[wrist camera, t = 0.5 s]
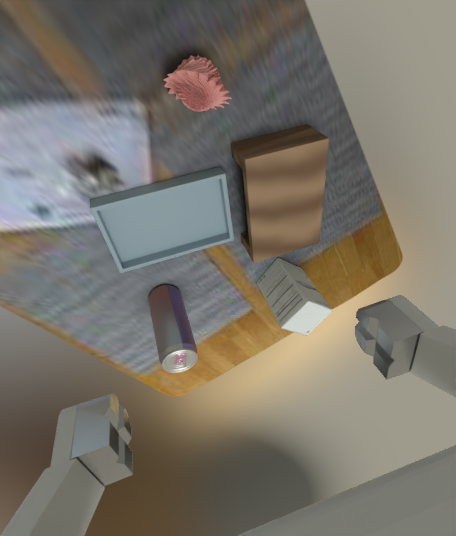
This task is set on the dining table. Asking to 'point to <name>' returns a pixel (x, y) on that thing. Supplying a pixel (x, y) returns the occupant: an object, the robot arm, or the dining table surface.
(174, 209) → the grey-blue tray
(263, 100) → the dining table surface
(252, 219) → the cubby
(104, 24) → the dining table surface
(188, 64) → the flower
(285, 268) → the supplement box
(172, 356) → the beverage can
